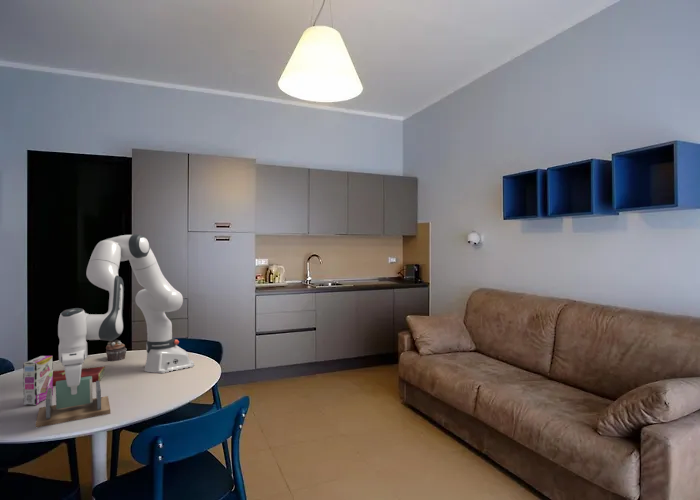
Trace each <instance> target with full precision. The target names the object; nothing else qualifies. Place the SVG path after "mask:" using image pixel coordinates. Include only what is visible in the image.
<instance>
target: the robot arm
mask: <svg viewBox="0 0 700 500" xmlns="http://www.w3.org/2000/svg"><path fill="white" fill-rule="evenodd" d="M89 258H90V259H89V261H88V264H87V267H86V278H87V279H88V281H89V282H90V283H91V284H92V285H94V286H96V287H98V288H100V289H102V290H105V291H108V293H109V299H108V310H107V312H106V313H104V314H102V313H101V314H97V313H95V314H93V313H92V314H91V313H90V314H89V313H87V312H86V311H85V310H84V309H83V308H79V307H75V308H68V309H64V310H63V311H62V312H61V313H60V315H59V318H58V324H57V336H58V339H59V344H58V361H59V362H60V363H61V365H62V366H63V368H64V369H63V370H65V376H66V382H67V386H68V387H71V394H72V395H74V394H77V386H79V385H80V379H81V369H82V367H83V363H84V362H85V360H86V359H87V358H88V342H87V341H88V340H89V341H99V340H100V341H106V342H107V341H108V342H109V341H115V340H116V339H117V338H119V337H120V336H121V335H122V333H123V331H124V317H123V316H124V313H123V312H124V311H123V310H124V298H125V297H124V296H125V293H124V291H125V286H124V285H125V284H124V280H123V278H122V277H121V276H119V269H120V263H121V262H125V261H129V263H130V264H129V265H130V266H131V270H132V272H133V274H134V275H135V279H136V281H137V283H138V284H139V285H140V286H141V287H143V289H140V290H139V291H138V292H136V295H135V298H134V299H135V304H136V306H137V307H138V308H139V309H140V310H141V312H142V314H143V316H144V319H145V323H146V333H147V339H146V344H145V346H146V347H145V348H146V362H145V366H144V370H143V371H145V372H146V373H147V372H148V373H158V374H166V373H170V372H169V371H171V372H174V371H173V370H176V371H179V370H178V369H181V370H183V369H182V368H185V369H189V368H188V367H190V368H193V367H194V366H195V363H194V362H195V361H194V360H192V359H190V357H189V353H188V351H186V350H185V349H183V348H181V347H180V346H178V345H179V343H180V341H179V340H178V339H176V338H174V337H173V324H172V323H173V322H172V321H171V319H170V318H168V317H167V314H166V313H169V312H171V313H172V312H176V311H178V310H180V309H181V307H182V306H183V302H184V297H183V294H182V293H181V292H180V291H178V290H177V289H176V288H174V287H173V285H172V284H170V282H169V281H168V280H167V278H166V277H165V275H164V274H163V272H162V270H161V267H160V266H159V263H158V261H157V258H156V256H155V254H154V252H153V250H152V248H151V244H150V240H149V239H148V238H147V237H146V236H145V235H143V234H140V233H134V234H124V235H122V234H121V235H118V236H113V237H108V238H106V239H103V240H100V241H99V242H98V243H97V244H96V245H95V246H94V249H93V250H92V252H91V256H90V257H89ZM165 372H166V373H165Z"/></svg>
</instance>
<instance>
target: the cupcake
mask: <svg viewBox="0 0 700 500" xmlns="http://www.w3.org/2000/svg"><path fill="white" fill-rule="evenodd" d="M105 349H106V350H105V354H106V358H107V360H108V362H115V361H116V362H119V361H123V360H125V359H126V354H127V348H126V345H125V344H124V343H122V342H121V340H119V339H117V338H116V339H115V340H113V341H108V342H107V345H106V347H105Z"/></svg>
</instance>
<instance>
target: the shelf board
mask: <svg viewBox="0 0 700 500" xmlns="http://www.w3.org/2000/svg"><path fill="white" fill-rule="evenodd" d="M110 414H111V405H110V400H109V395H105V396H101V410H97V401H96V397H94V398H93V402H92V403H89V404H83V405H77V406H72V407H66V408H60V409H56V404H52V412H51V418H50V419H48V420H46V406H41V407H39V408H38V412H37V415H36V420H35V428H36V427H37V428H40V427H48V426H51V425H52V426H53V425H58V424H63V423H68V422H71V421H78V420H83V419H84V420H85V419H89V418H95V417H99V416H104V415H105V416H106V415H110Z"/></svg>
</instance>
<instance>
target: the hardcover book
mask: <svg viewBox="0 0 700 500" xmlns="http://www.w3.org/2000/svg"><path fill="white" fill-rule="evenodd" d="M105 369H106V366H95V367H84V368H82V369H81V377H88V376H92V383H96V381H100V382H101V380H102V378H103V377H104V375H105ZM61 380H66V376H65V369H62V370H53V387H56V381H61Z"/></svg>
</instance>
